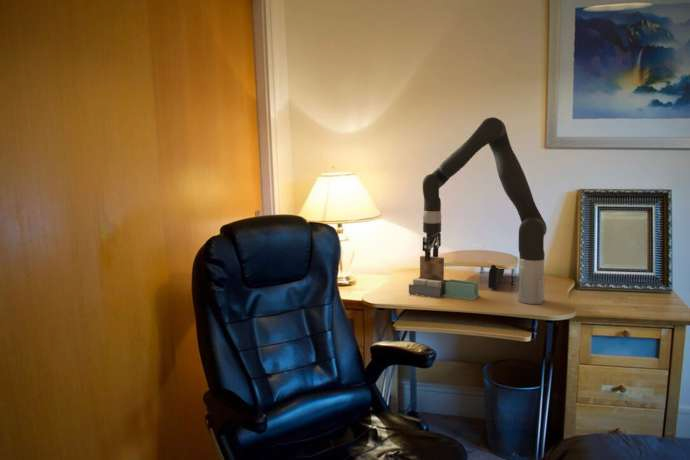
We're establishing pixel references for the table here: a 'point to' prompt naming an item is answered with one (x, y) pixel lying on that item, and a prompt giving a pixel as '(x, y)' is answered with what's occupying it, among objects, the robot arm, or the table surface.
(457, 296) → the green rectangular block
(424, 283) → the offcut
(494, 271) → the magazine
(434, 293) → the offcut rack
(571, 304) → the table surface
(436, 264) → the walnut panel
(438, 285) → the offcut
